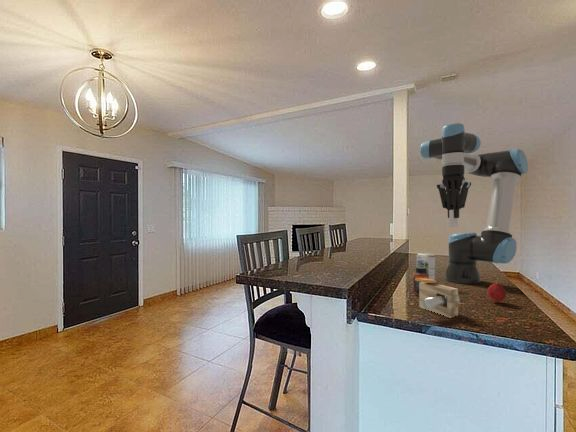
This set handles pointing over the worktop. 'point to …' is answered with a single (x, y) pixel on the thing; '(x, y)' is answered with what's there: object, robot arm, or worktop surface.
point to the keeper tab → (427, 280)
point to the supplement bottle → (419, 274)
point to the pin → (436, 301)
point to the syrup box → (427, 263)
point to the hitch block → (437, 290)
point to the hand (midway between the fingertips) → (453, 226)
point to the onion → (496, 292)
